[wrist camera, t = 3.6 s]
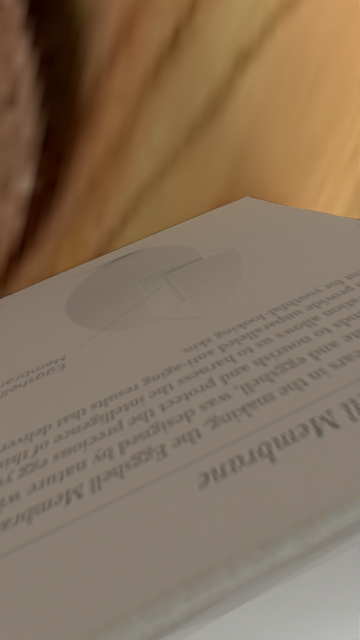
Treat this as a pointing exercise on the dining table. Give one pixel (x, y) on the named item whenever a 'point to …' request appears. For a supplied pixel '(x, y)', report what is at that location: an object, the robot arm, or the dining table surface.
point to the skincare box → (187, 436)
